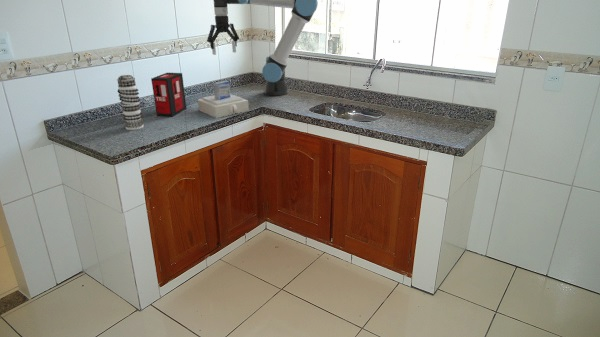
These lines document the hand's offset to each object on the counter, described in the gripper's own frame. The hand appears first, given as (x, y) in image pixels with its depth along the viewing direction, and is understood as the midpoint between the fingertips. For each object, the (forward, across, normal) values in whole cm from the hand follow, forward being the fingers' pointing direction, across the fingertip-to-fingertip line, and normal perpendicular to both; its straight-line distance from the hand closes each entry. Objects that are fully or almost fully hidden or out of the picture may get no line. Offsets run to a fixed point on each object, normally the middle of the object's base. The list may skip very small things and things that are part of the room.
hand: (224, 53), depth 239 cm
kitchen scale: (+27, -17, -24) cm, 40 cm away
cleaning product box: (+27, -40, -8) cm, 49 cm away
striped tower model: (+27, -65, -21) cm, 73 cm away
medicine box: (+20, -17, -24) cm, 35 cm away
